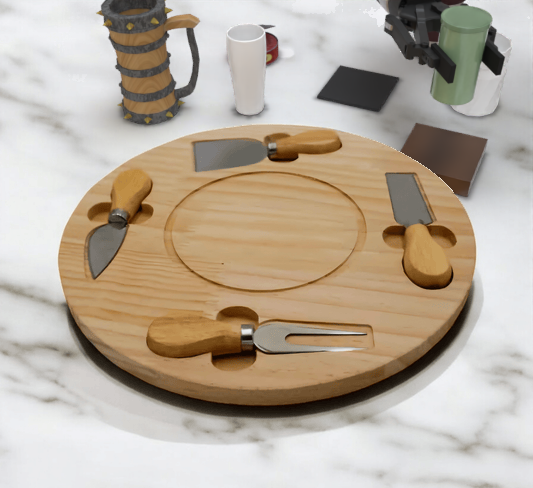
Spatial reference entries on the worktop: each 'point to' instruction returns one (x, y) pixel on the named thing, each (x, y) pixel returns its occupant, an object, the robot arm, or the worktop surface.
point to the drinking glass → (247, 66)
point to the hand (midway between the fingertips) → (476, 70)
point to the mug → (148, 57)
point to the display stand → (447, 154)
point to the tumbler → (461, 52)
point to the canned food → (270, 45)
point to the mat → (358, 88)
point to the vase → (488, 84)
